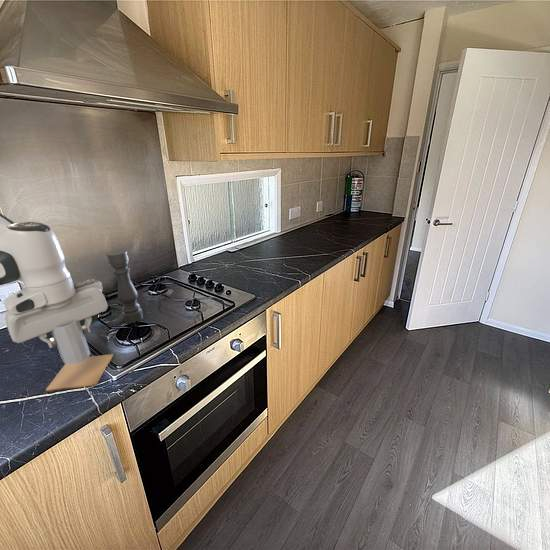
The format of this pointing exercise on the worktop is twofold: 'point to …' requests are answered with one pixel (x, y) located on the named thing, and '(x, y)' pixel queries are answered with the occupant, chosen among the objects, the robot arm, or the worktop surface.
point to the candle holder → (125, 286)
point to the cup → (71, 343)
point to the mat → (81, 373)
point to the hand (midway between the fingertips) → (70, 339)
